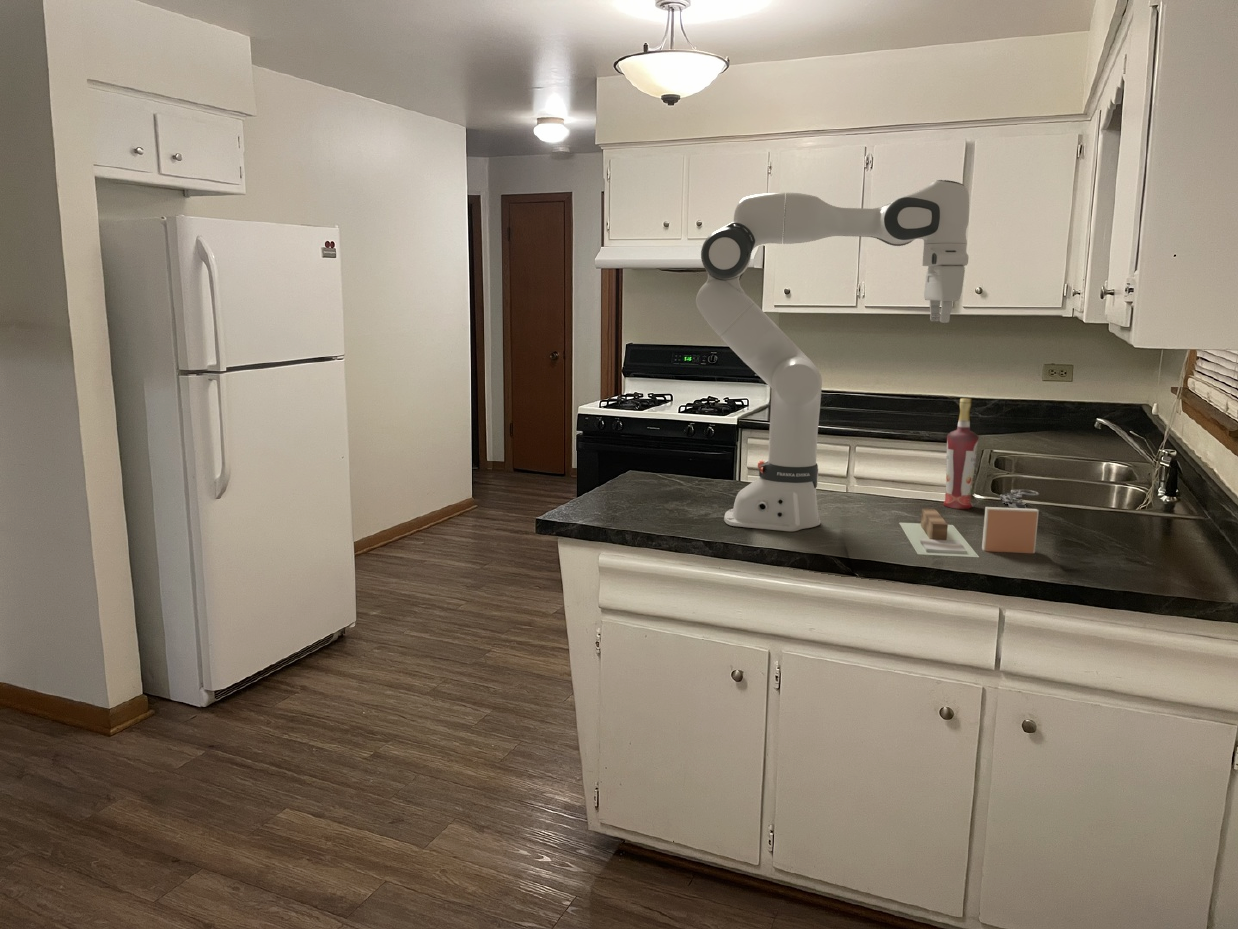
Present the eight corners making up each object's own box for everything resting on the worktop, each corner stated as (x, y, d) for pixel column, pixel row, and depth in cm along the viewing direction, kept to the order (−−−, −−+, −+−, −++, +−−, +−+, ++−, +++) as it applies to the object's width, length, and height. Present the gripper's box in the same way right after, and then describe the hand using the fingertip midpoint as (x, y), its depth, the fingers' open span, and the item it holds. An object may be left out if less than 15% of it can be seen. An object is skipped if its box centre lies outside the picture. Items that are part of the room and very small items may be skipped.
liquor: (970, 514, 220) (979, 401, 214) (939, 511, 223) (947, 399, 218) (974, 508, 226) (983, 398, 221) (944, 505, 229) (952, 396, 224)
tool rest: (917, 558, 183) (917, 554, 182) (898, 526, 208) (899, 522, 208) (979, 561, 181) (979, 557, 181) (952, 529, 206) (952, 525, 206)
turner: (909, 525, 205) (910, 508, 205) (945, 526, 204) (946, 509, 203) (926, 551, 184) (927, 533, 183) (966, 553, 183) (968, 535, 182)
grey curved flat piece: (1037, 512, 219) (994, 505, 223) (1036, 518, 219) (993, 511, 223) (1044, 491, 243) (1004, 485, 248) (1043, 497, 244) (1004, 491, 248)
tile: (983, 555, 185) (987, 508, 183) (981, 553, 187) (985, 506, 185) (1034, 558, 184) (1038, 510, 182) (1031, 555, 185) (1036, 508, 184)
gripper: (919, 259, 206) (915, 320, 208) (939, 256, 186) (934, 323, 188) (948, 259, 205) (943, 320, 208) (970, 256, 185) (965, 323, 188)
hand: (939, 321), depth 198 cm, fingers open, 8 cm apart
